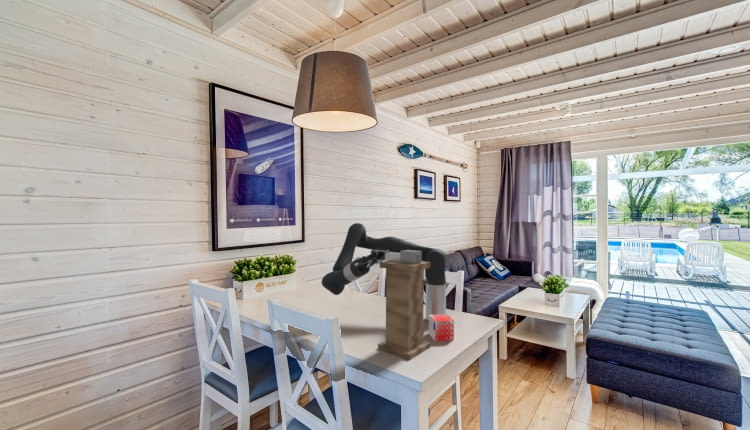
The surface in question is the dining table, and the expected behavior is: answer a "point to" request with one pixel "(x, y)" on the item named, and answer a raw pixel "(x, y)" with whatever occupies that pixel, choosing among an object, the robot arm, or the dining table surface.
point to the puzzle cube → (441, 327)
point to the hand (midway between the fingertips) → (383, 252)
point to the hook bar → (400, 256)
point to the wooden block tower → (404, 309)
